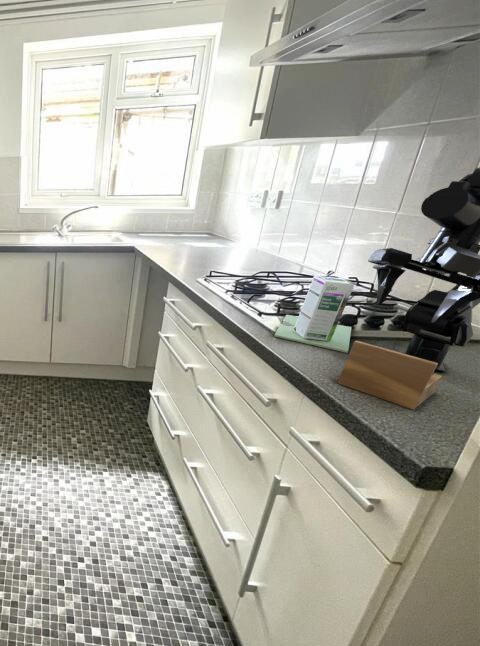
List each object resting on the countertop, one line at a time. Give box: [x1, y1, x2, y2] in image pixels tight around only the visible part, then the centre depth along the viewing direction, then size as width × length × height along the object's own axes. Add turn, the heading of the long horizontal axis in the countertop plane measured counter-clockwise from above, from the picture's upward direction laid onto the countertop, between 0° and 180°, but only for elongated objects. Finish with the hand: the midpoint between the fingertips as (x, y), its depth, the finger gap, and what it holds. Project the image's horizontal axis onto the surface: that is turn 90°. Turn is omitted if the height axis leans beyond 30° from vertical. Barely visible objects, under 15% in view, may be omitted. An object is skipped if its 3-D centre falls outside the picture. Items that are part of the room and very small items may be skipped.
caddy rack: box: [337, 340, 442, 411], centre depth 78 cm, size 10×11×9 cm
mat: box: [273, 314, 352, 354], centre depth 106 cm, size 20×14×1 cm
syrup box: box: [295, 275, 355, 341], centre depth 99 cm, size 6×6×14 cm
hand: (405, 313), depth 82 cm, fingers open, 9 cm apart
